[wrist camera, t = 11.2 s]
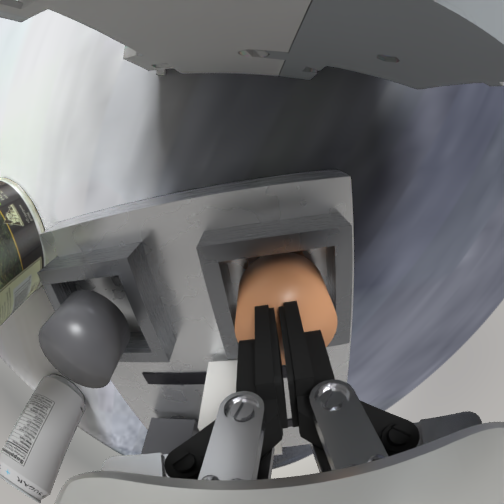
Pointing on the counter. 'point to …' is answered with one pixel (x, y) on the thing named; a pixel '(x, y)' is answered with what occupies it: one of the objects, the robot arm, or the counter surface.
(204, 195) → the panel
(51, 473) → the energy drink can
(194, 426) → the slider black
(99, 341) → the button black
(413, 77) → the circuit breaker
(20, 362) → the counter surface
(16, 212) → the coffee can
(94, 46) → the counter surface
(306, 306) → the button orange
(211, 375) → the slider white
